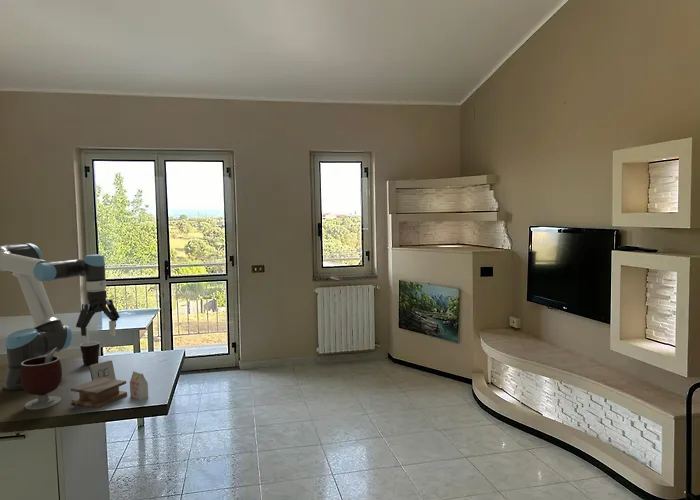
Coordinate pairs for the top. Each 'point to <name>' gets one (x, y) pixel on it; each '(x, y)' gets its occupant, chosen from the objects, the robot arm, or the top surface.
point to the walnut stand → (99, 392)
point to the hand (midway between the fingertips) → (99, 339)
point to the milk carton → (138, 386)
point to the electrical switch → (102, 370)
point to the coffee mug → (90, 353)
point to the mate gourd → (41, 380)
